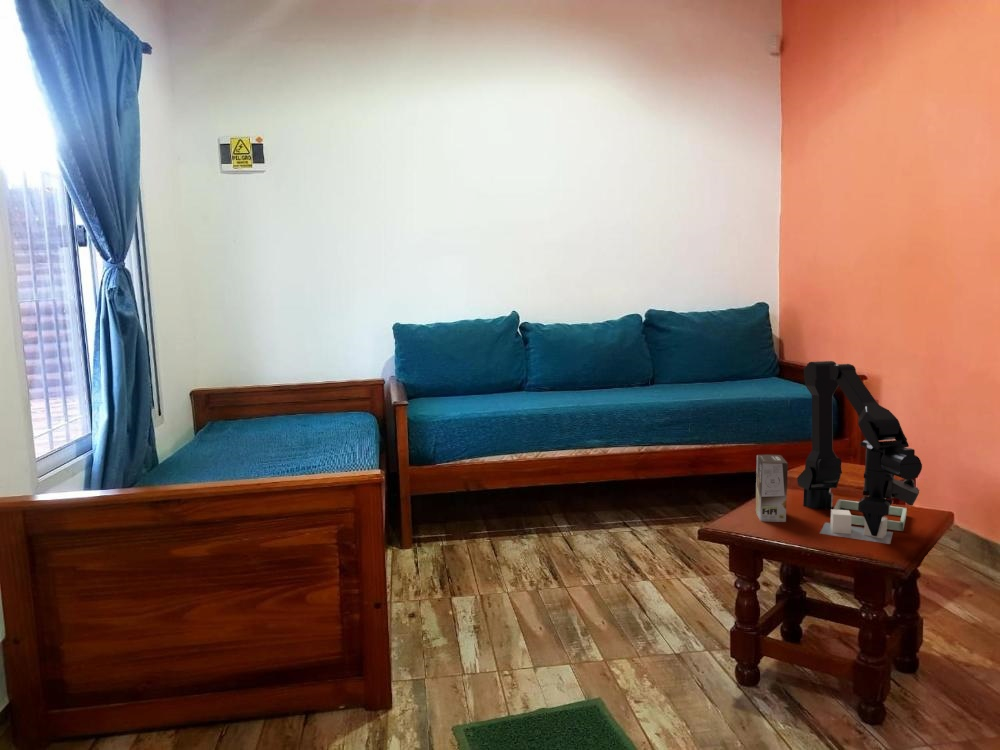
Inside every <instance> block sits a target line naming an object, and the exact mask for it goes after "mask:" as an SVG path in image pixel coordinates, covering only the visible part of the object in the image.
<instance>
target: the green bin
mask: <svg viewBox="0 0 1000 750" xmlns="http://www.w3.org/2000/svg"><path fill="white" fill-rule="evenodd" d="M858 504H859V501H856V500H855V501H854V500H846V499H840V498H838V499H837V500H836V503H835V505H834V506H833V509H835V510H842V509H844V510H852V511H858ZM907 509H908V508H907V507H902V506H901V507H900V506H893V505H890V512H889V515H888V516H890V515H891V516H899V517H900V521H897V520H891V519H887V530H892V531H898V532H904V528H905V524H906V519H907V513H908V511H907ZM851 515H852V519H851V525H857V526H861V527H862V526H864V523H865V518H864V516H863V515H853V514H851Z"/></svg>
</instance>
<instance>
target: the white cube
mask: <svg viewBox="0 0 1000 750" xmlns="http://www.w3.org/2000/svg"><path fill="white" fill-rule="evenodd" d="M852 515H853V514H851V511H850V509H840V510H835V509H834V508H833V509H832V508H831V509H830V522H829V523H830V528H831V530H832V532H833V533H847V534H851V526H852V524H851V519H852Z"/></svg>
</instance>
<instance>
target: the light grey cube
mask: <svg viewBox="0 0 1000 750" xmlns="http://www.w3.org/2000/svg"><path fill="white" fill-rule="evenodd" d="M887 520H888V517H887V516H883V517H882V519H881V523H880V527H879V530H878V534H877V536H872V535H871V532H870V530H869V527H868V525H867V522H866V520H865V523H864V527H863V528H864V535H867V536H872V537H877V538H883V537H884V536H885V535H886V534H887V531H888V529H887Z"/></svg>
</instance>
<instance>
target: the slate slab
mask: <svg viewBox="0 0 1000 750" xmlns="http://www.w3.org/2000/svg"><path fill="white" fill-rule="evenodd" d="M819 534H820V535H827V536H832V537H833V536H834V537H841V538H846V539H847V538H848V539H852V540H853V539H854V540H859V541H866V542H874V543H881V544H886V545H890V544H892V543H891V542H892V538H893V534H894V532H893V531H888V530H887V534H886V535H885V536H884V537H883V538H877V537H872V536H867V535H864V527H862V526H853V525H851V534H847V533H833V532H832V530H831V528H830V522H826V521H825V522H824V524H823V526H822V528H821V529H820V532H819Z"/></svg>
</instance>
